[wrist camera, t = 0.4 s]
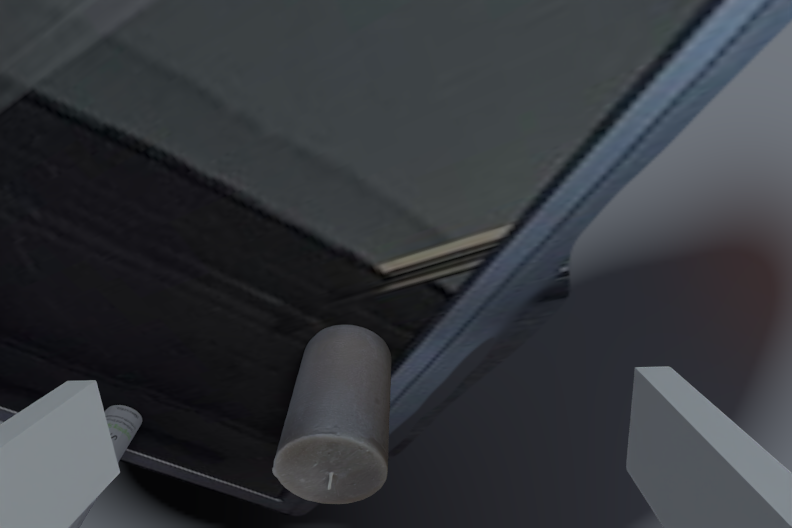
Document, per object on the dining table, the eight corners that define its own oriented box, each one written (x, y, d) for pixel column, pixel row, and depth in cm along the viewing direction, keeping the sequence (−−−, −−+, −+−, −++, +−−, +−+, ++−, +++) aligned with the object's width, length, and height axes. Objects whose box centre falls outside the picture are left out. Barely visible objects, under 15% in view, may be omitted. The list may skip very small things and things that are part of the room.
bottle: (150, 420, 53) (35, 618, 36) (126, 431, 55) (3, 628, 38) (122, 399, 51) (-13, 599, 34) (98, 411, 53) (-45, 610, 36)
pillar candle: (397, 382, 50) (397, 515, 37) (315, 391, 50) (287, 524, 38) (383, 317, 45) (376, 444, 32) (292, 328, 45) (250, 456, 33)
